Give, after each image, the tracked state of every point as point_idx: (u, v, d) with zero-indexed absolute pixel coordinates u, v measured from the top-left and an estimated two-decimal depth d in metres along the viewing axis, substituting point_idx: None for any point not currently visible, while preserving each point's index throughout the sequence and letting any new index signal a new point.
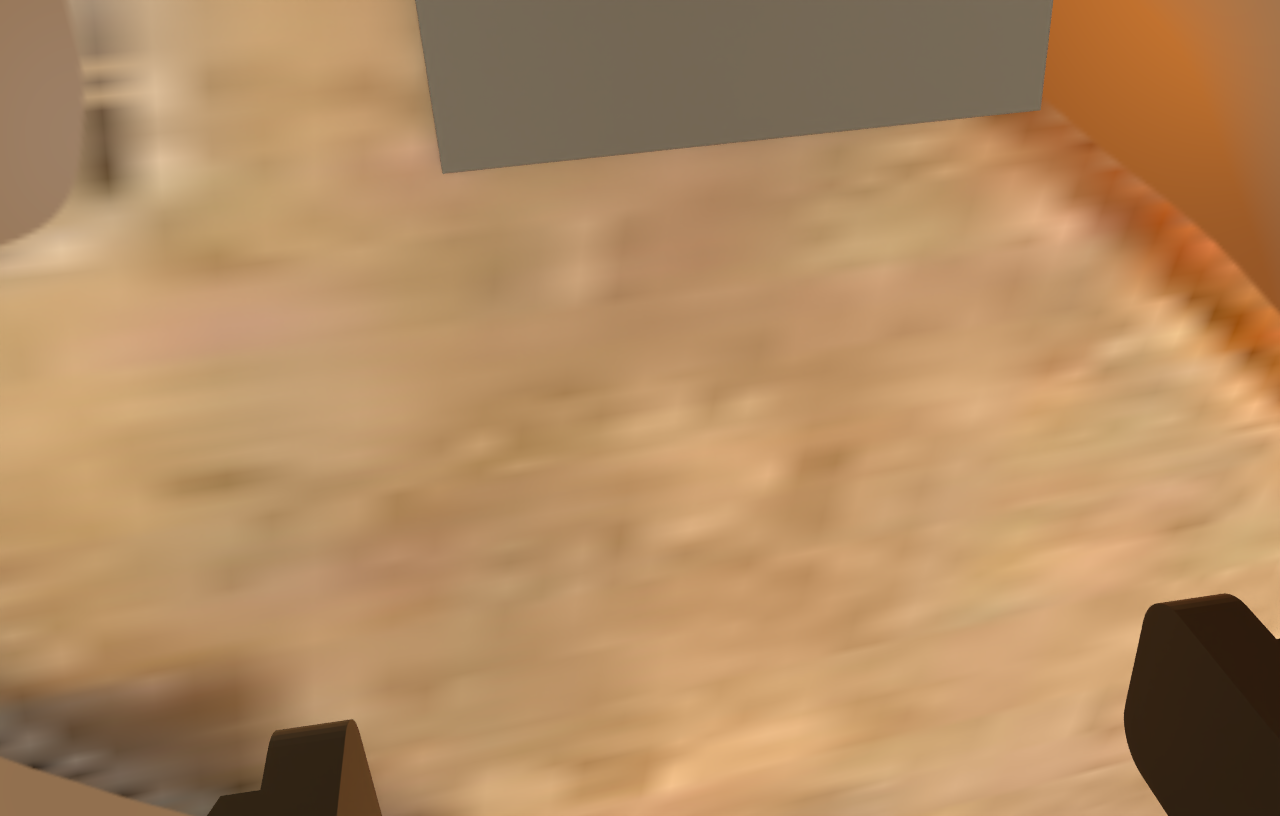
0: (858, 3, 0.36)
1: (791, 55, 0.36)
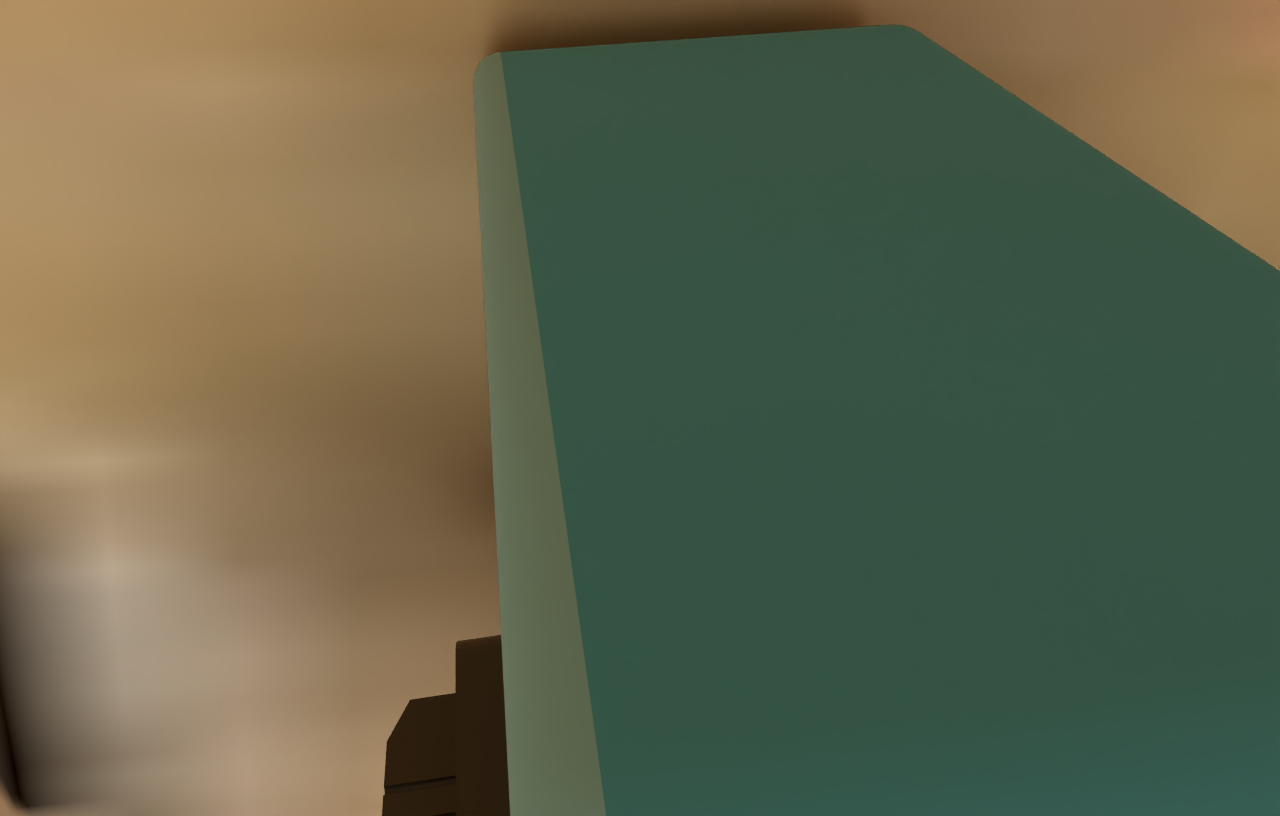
0: None
1: None
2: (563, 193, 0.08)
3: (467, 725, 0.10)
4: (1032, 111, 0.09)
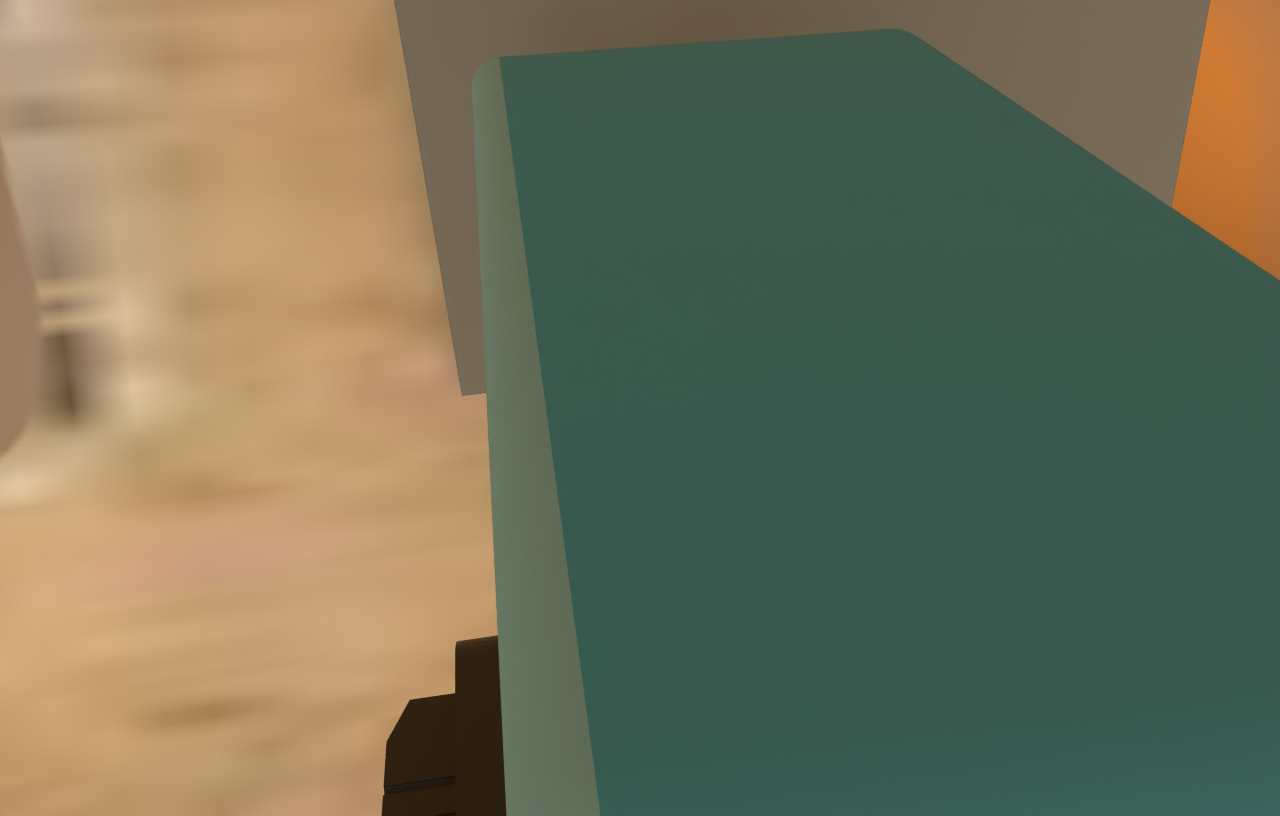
0: None
1: None
2: (560, 198, 0.08)
3: (467, 725, 0.10)
4: (1029, 116, 0.09)
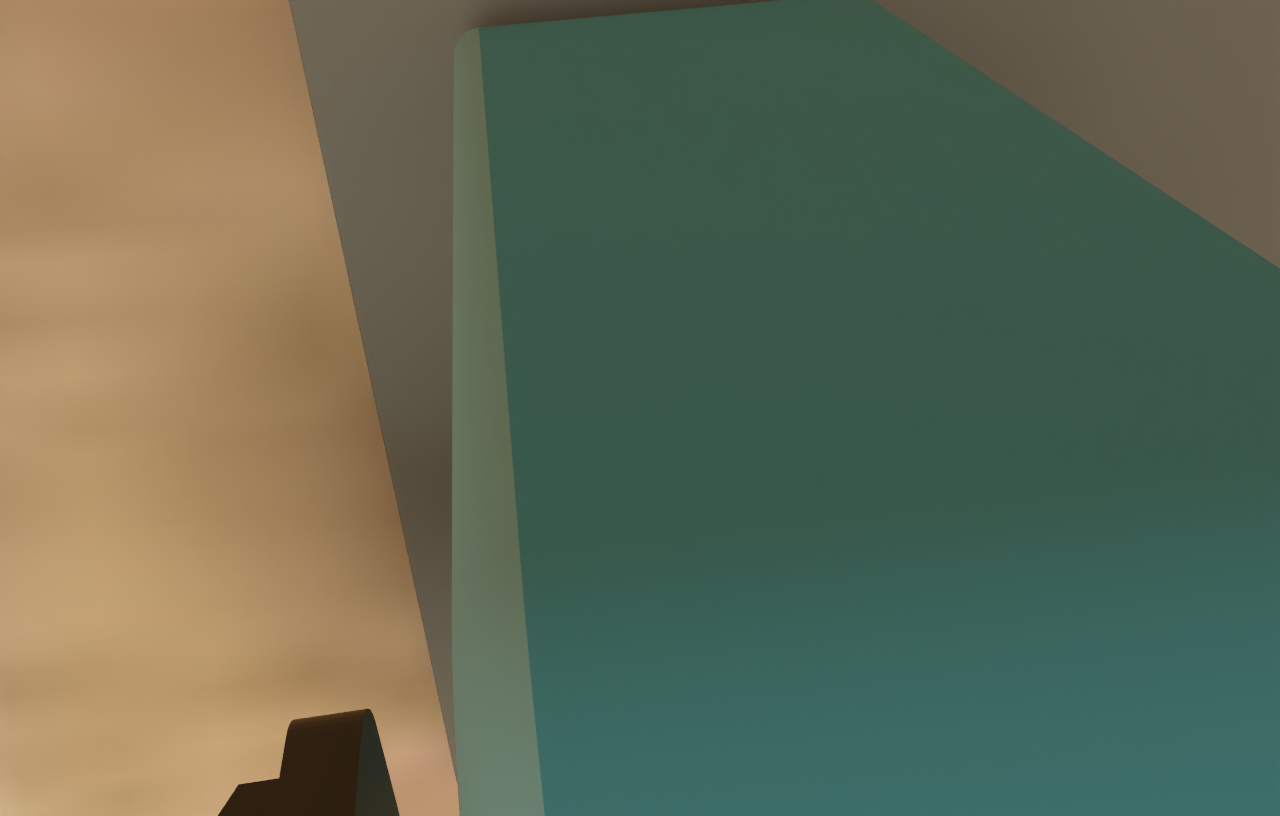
0: None
1: None
2: (527, 142, 0.08)
3: None
4: (964, 65, 0.10)
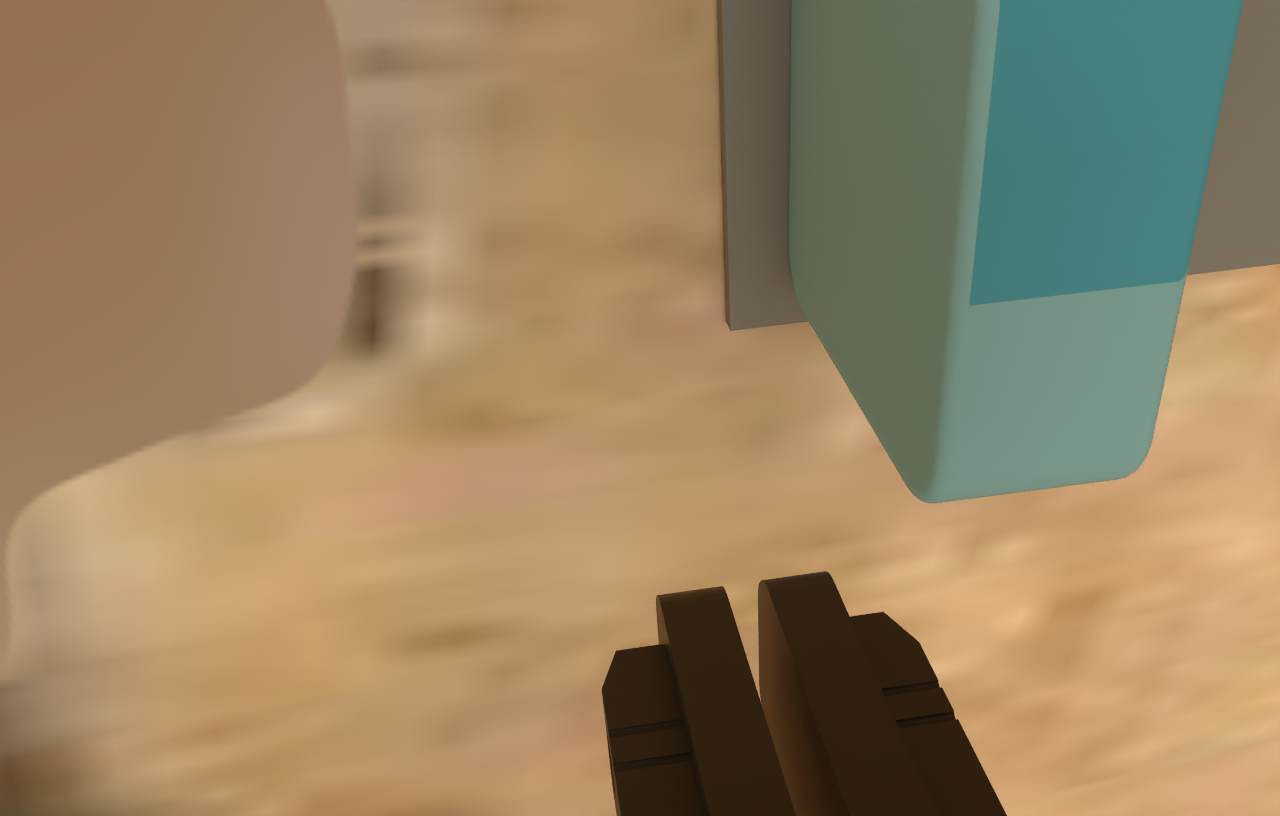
0: None
1: None
2: None
3: (687, 671, 0.11)
4: None
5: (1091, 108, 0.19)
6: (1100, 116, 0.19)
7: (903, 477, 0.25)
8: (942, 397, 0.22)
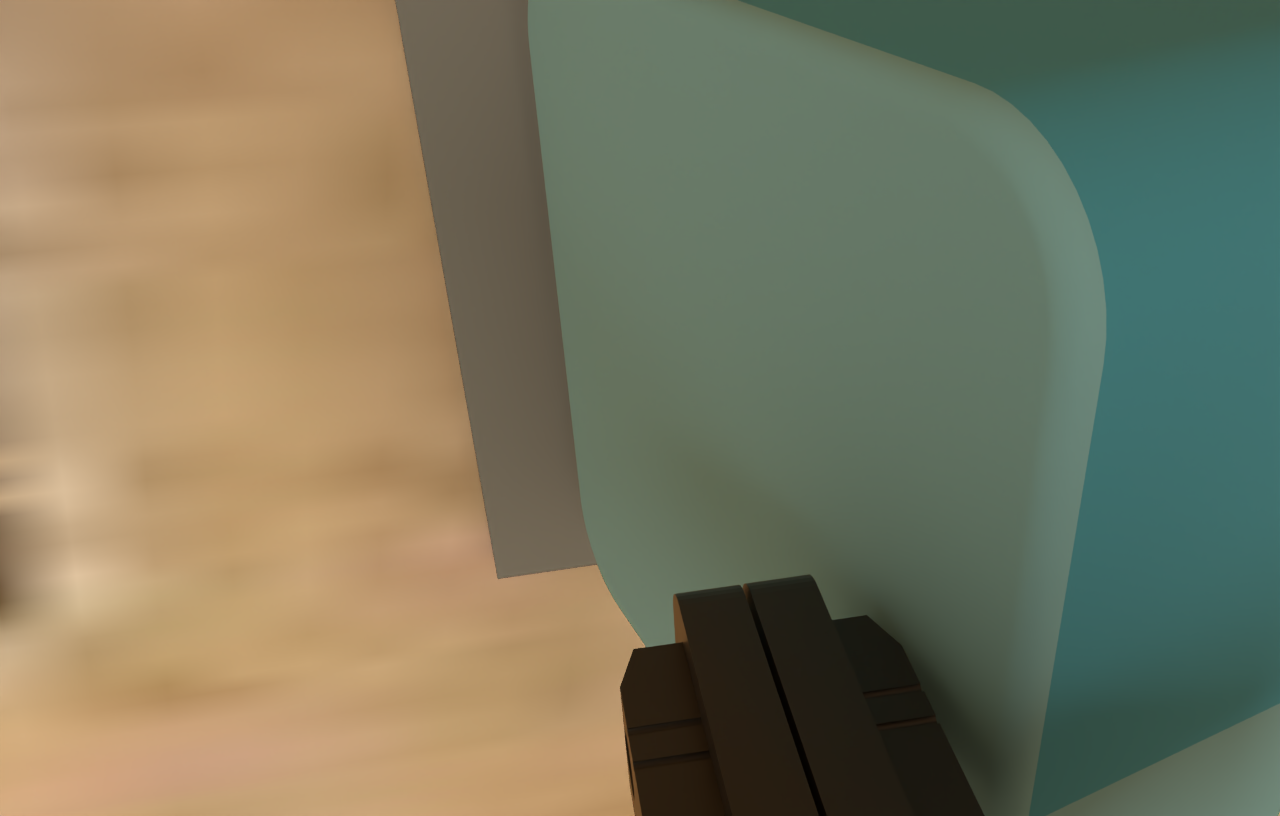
0: None
1: None
2: None
3: (706, 669, 0.11)
4: None
5: (1233, 486, 0.10)
6: (1246, 493, 0.10)
7: None
8: None
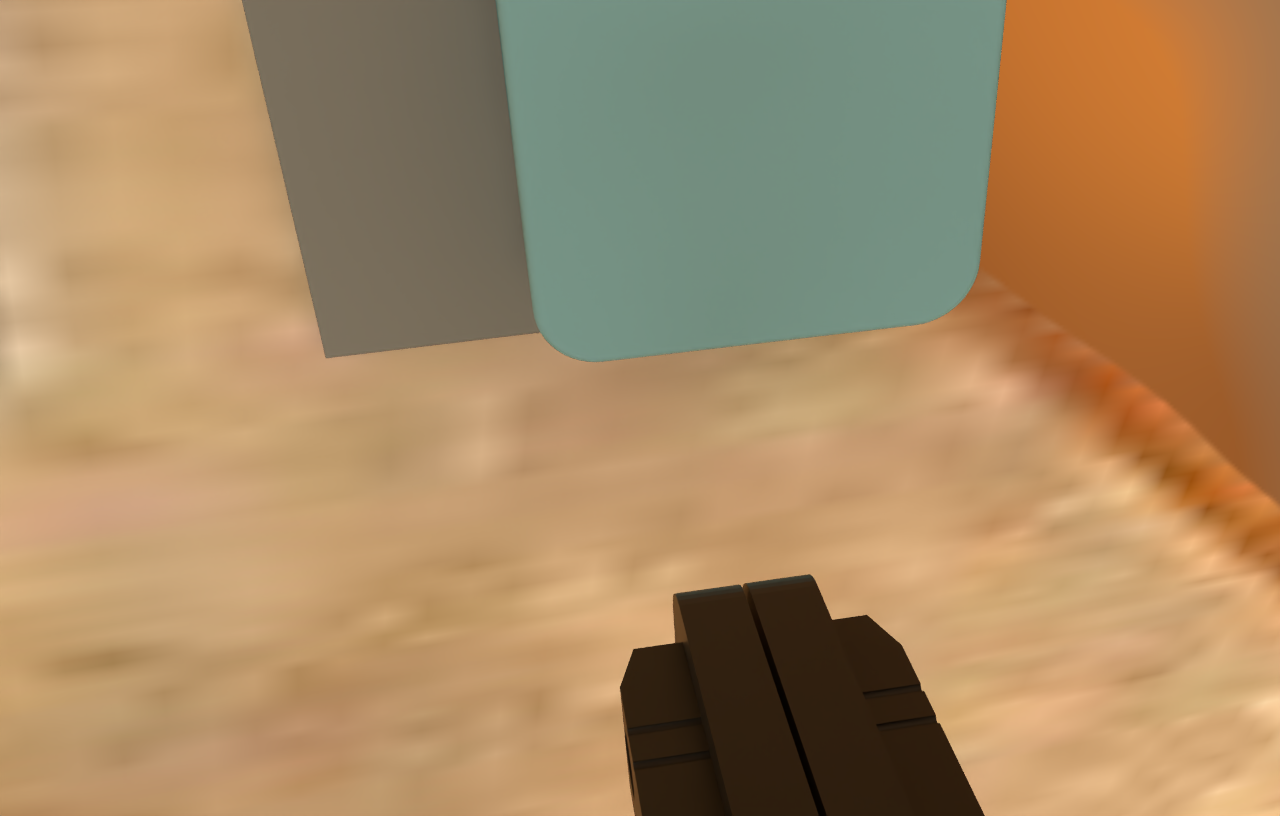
0: None
1: None
2: None
3: (706, 669, 0.11)
4: None
5: None
6: None
7: (914, 319, 0.31)
8: (981, 211, 0.30)
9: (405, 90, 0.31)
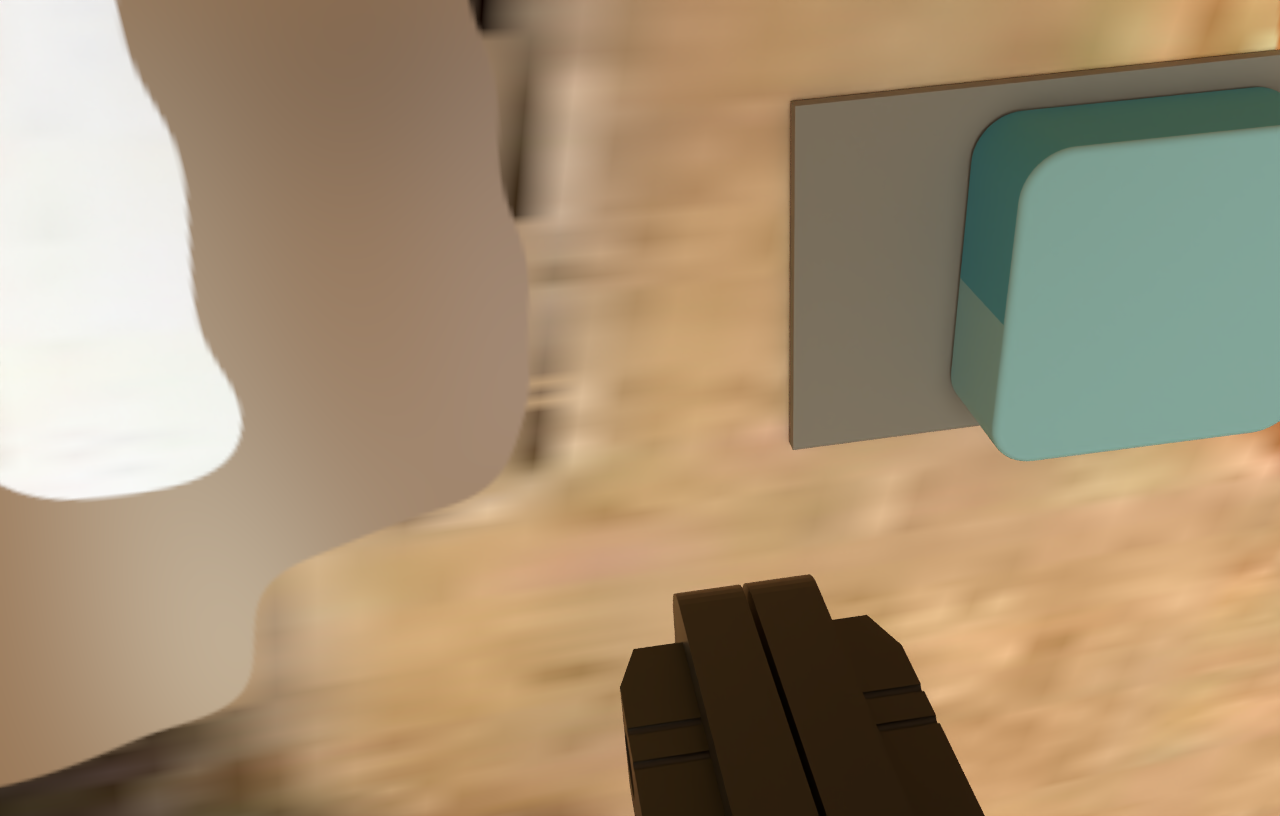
0: None
1: None
2: (1182, 132, 0.37)
3: (706, 670, 0.11)
4: None
5: None
6: None
7: (1252, 429, 0.43)
8: None
9: (890, 265, 0.43)
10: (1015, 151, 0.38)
